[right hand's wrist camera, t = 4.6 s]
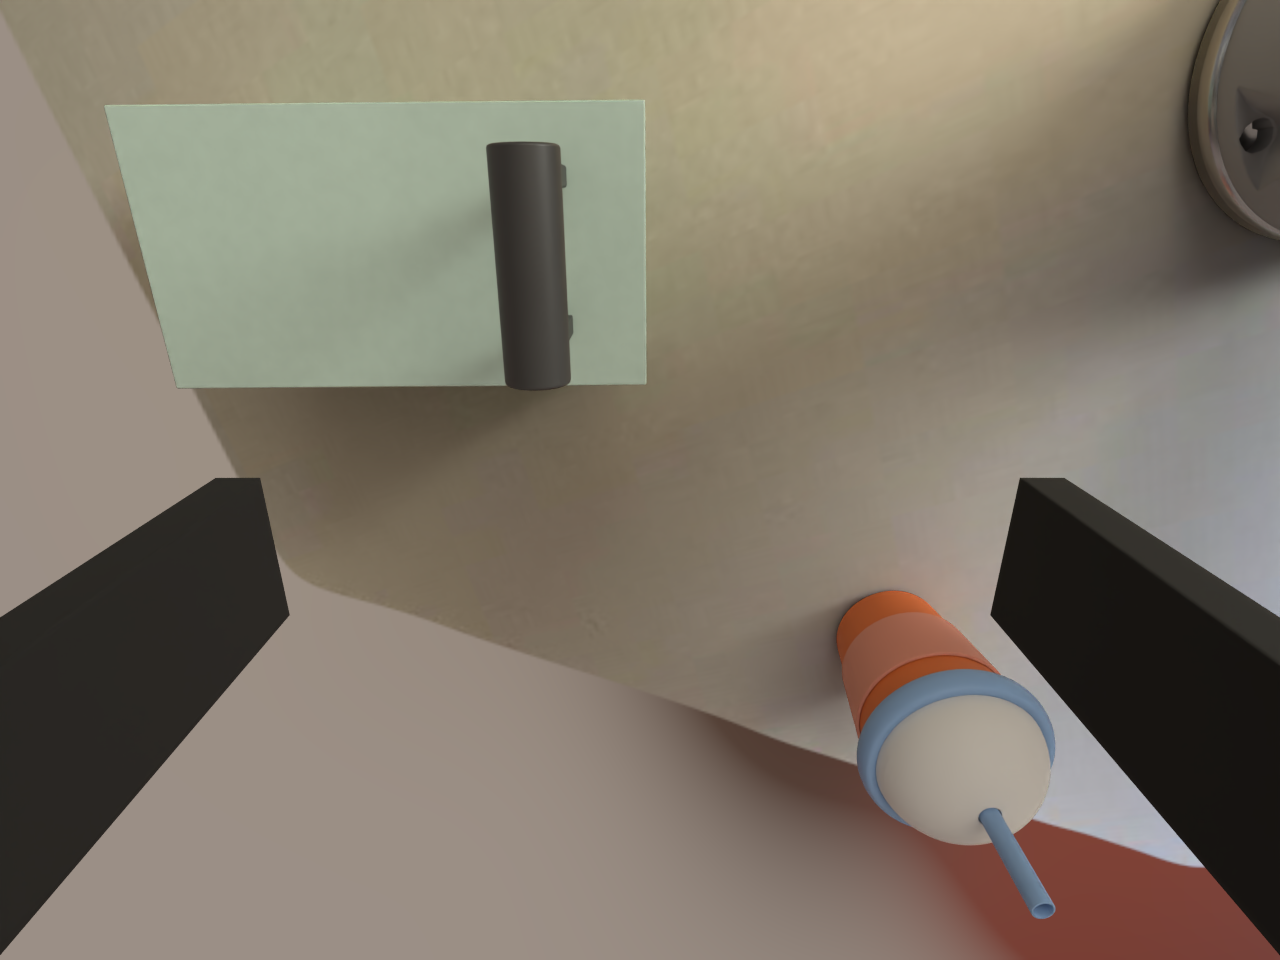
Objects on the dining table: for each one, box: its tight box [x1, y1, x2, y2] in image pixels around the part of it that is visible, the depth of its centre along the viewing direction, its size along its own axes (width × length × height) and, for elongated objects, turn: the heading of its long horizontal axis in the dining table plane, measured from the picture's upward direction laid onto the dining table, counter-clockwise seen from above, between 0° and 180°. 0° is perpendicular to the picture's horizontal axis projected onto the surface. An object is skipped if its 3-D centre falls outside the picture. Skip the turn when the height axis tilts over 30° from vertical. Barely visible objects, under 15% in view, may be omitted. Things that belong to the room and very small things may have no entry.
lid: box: [104, 100, 646, 391], centre depth 22 cm, size 18×10×9 cm, turn 91°
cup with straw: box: [837, 591, 1055, 919], centre depth 34 cm, size 9×9×18 cm
